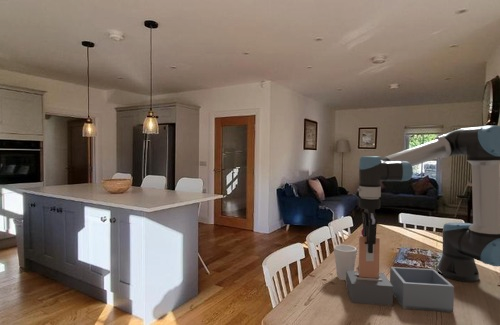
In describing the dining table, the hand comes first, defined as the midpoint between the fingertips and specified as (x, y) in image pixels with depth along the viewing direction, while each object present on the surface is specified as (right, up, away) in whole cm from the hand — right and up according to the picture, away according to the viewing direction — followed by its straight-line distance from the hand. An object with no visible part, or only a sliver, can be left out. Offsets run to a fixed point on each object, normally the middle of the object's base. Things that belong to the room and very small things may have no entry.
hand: (368, 259), depth 113 cm
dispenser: (0, -14, 0) cm, 14 cm away
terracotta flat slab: (0, -6, 0) cm, 6 cm away
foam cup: (-4, -14, +17) cm, 22 cm away
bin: (+18, -14, -2) cm, 23 cm away
